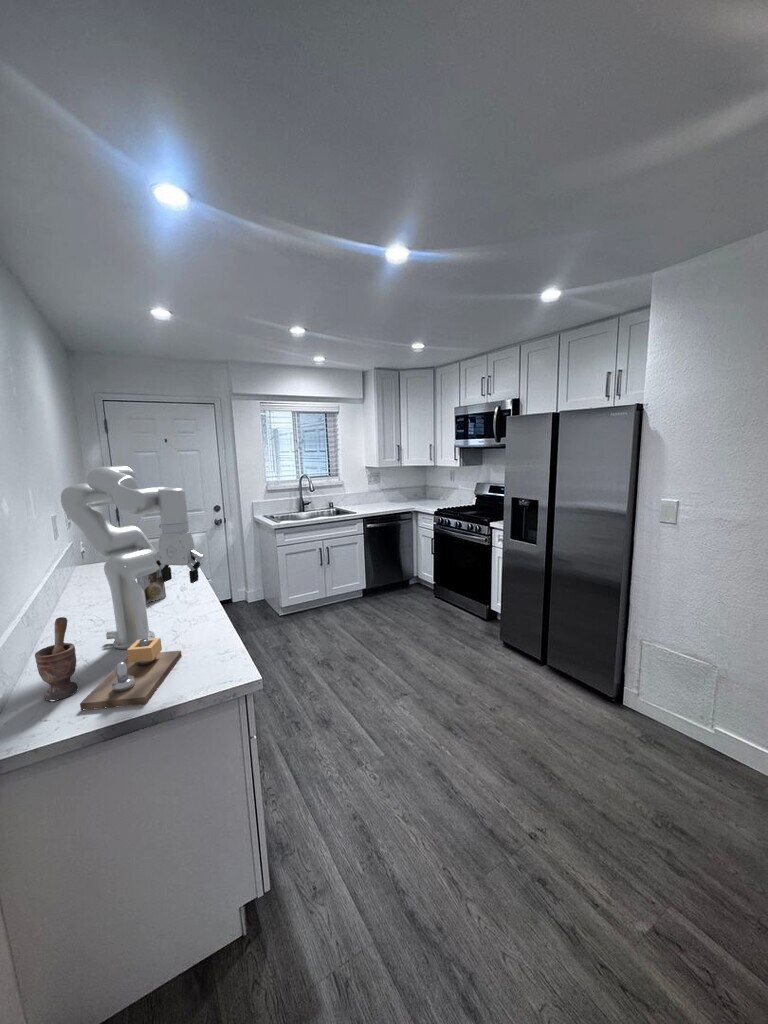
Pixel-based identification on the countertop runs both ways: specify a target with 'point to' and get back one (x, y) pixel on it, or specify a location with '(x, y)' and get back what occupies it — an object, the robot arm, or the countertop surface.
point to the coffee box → (152, 586)
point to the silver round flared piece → (122, 679)
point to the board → (144, 683)
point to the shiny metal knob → (144, 663)
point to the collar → (144, 650)
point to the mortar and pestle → (58, 664)
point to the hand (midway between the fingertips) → (181, 581)
